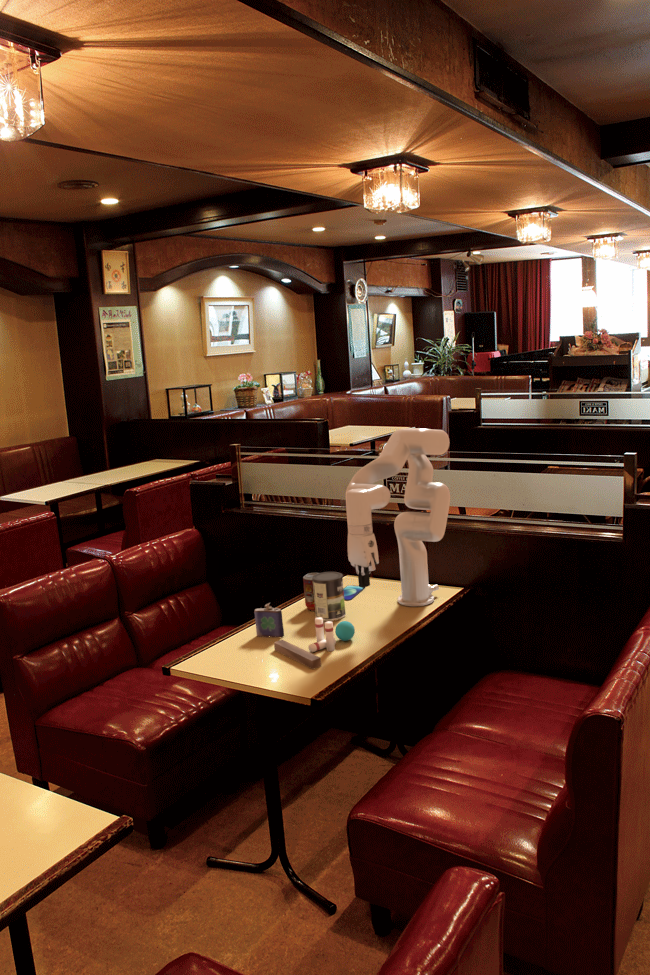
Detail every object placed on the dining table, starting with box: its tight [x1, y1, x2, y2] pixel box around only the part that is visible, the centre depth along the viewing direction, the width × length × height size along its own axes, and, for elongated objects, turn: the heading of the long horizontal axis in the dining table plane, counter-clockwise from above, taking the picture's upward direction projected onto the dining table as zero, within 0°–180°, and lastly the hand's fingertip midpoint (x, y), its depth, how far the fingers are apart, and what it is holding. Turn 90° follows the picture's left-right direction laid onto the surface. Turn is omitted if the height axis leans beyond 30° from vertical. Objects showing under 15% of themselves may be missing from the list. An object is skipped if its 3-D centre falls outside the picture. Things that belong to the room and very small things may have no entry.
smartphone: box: [343, 584, 366, 601], centre depth 275 cm, size 8×1×15 cm
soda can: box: [302, 572, 319, 612], centre depth 260 cm, size 7×7×12 cm
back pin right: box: [314, 617, 326, 642], centre depth 227 cm, size 2×2×8 cm
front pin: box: [308, 637, 337, 654], centre depth 225 cm, size 2×2×8 cm
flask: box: [253, 602, 285, 638], centre depth 238 cm, size 9×3×11 cm, turn 73°
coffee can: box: [312, 571, 346, 622], centre depth 251 cm, size 10×10×14 cm
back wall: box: [273, 639, 322, 670], centre depth 219 cm, size 3×20×2 cm, turn 36°
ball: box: [334, 620, 356, 642], centre depth 230 cm, size 6×6×6 cm
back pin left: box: [324, 621, 336, 652], centre depth 223 cm, size 2×2×8 cm
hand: (364, 586), depth 232 cm, fingers closed
